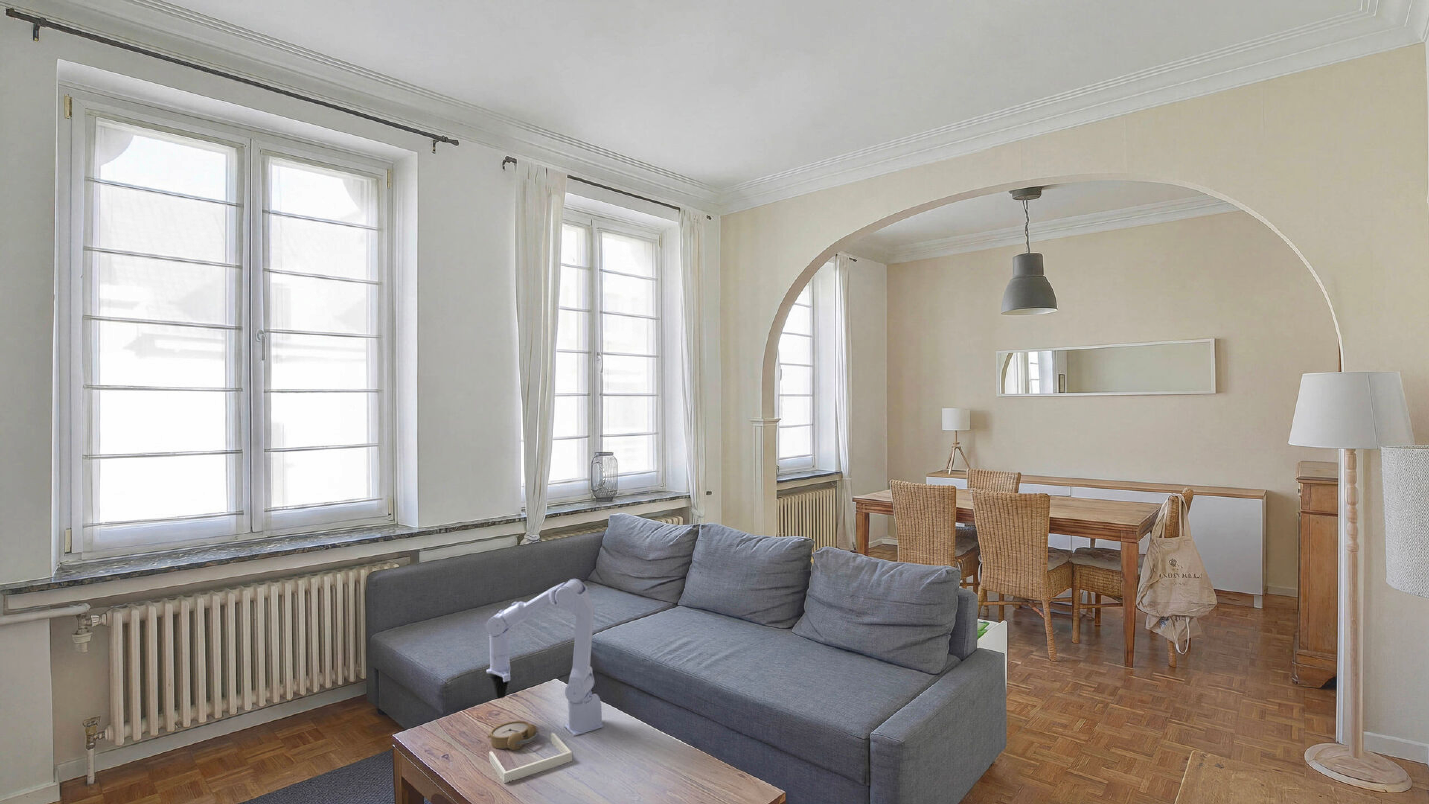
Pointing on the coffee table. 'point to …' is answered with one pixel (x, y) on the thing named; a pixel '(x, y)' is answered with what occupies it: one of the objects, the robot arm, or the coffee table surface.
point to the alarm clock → (513, 734)
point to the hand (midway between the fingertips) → (500, 697)
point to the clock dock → (535, 766)
